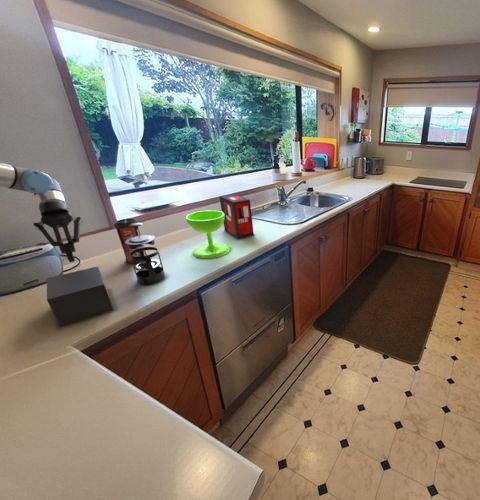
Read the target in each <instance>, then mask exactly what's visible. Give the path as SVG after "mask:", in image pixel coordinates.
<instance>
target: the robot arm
mask: <svg viewBox="0 0 480 500" xmlns="http://www.w3.org/2000/svg"><path fill="white" fill-rule="evenodd" d="M31 169H32V168H26V167H21V166H17V165H11V164H7V163H3V162H0V188H5V189H9V190H15V191H21V192H27V193H32V194H33V195H34V198H35V201H36V204H37V207H38V209H39V212H40V216H41V218H40V221H39V222H33V226H34V228H35V229H36V230H38V231H40V232H41V233H42V235H43V236H44V237H45V239H46V240H47V241H48V242H49V244H50V245H51V247H54V248H55V247H59V250H60V253H61V254H62V255H65V256H66V258H67V261H68V262H69V263H73V262H75V261H76V260H75V257H74V253H76V252H77V249H76V247H75V244H76V243H79V242H80V234H81V233H80V231H81V230H80V226H81V224H82V222H83V221H82V218H81V217H80V216H77V217H76V216H73V215H72V214H71V213H70V210H69V207H68V205H67V202H66V199H65V197H64V194H63V191H62V187H61V185H59V184H60V182H59V183H58V182H57V181H56V180H55V179H53V178H51V177H50V176H49V175H48V174H46V173H44V172H41V171H38V170H33V169H32V170H31ZM71 223H73V238H72V234H71V232H70V229H69V225H70V224H71ZM45 225H46V226H48V227H49V228H51V229H52V230H53V234H54V236H55V239H56V241H55V240H54V238H53V237H52V236H51V235H50V233H49V232H48V231H47V229H46V228H45V227H46V226H45ZM60 228H62V229H63V232H64V235H65V238H66V241H67V242H64V241H63V238H62V235H61V232H60Z"/></svg>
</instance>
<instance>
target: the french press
mask: <svg viewBox="0 0 480 500" xmlns="http://www.w3.org/2000/svg"><path fill="white" fill-rule="evenodd" d="M141 226H144V223H143V222H137V223H133V224H130V225H129V227H135V229H137V232H138V236H136V237H132V238H130V239H128V240H126V242H125V243H126V244H127V245H128V247H129V248H130V249H135V248H136V247H138V246H139V245H141V246H142V247H138V249H136V250H133V251H131V252H130V253H129V255H130V258H131V261H132V259H133V260H142V261H140V262H137V263H136V265H135V263H133V261H132V263H131V264H132V267H133V270H134V273H135V277H136V279H137V284H138V285H140V286H151V285H155V284H158V283H160V282H162V281H164V280H165V279H166V277H167V274H166V273H165V270H164V269H165V268H164V266H163V262H162V259H161V255H160V252H159V248H158V247H156V246H153V245H155V244H156V243H155V239H156V237H155V236H154V235H149V234H143V235H142V234H140V235H141V236H140V235H139V231H140V228H139V227H141ZM138 229H139V231H138ZM142 244H143V245H151V246H144V247H143V245H142ZM145 251H146V252H145ZM147 251H154V252H153V253H150V254H147ZM137 252H139V253H140V256H139V257H135V256H132V255H133V254H135V253H137ZM146 254H147V255H146ZM156 256H158V259H151V258H154V257H156Z"/></svg>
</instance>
